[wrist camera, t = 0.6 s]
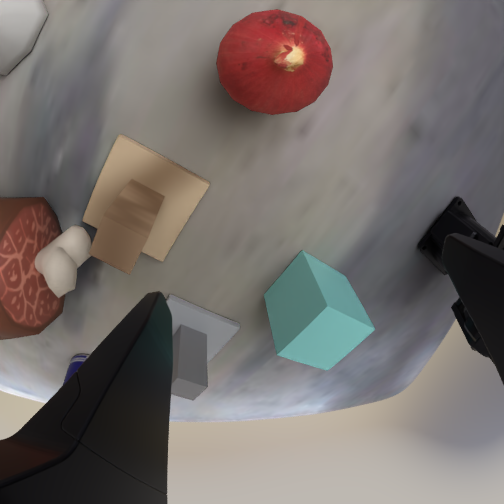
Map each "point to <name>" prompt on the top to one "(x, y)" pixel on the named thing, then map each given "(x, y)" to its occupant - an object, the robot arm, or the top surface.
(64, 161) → the top surface
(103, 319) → the top surface
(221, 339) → the light grey base plate
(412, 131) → the top surface
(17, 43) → the flask
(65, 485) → the robot arm
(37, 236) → the meat
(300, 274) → the turquoise block
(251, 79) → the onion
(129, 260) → the tan wooden stamp
